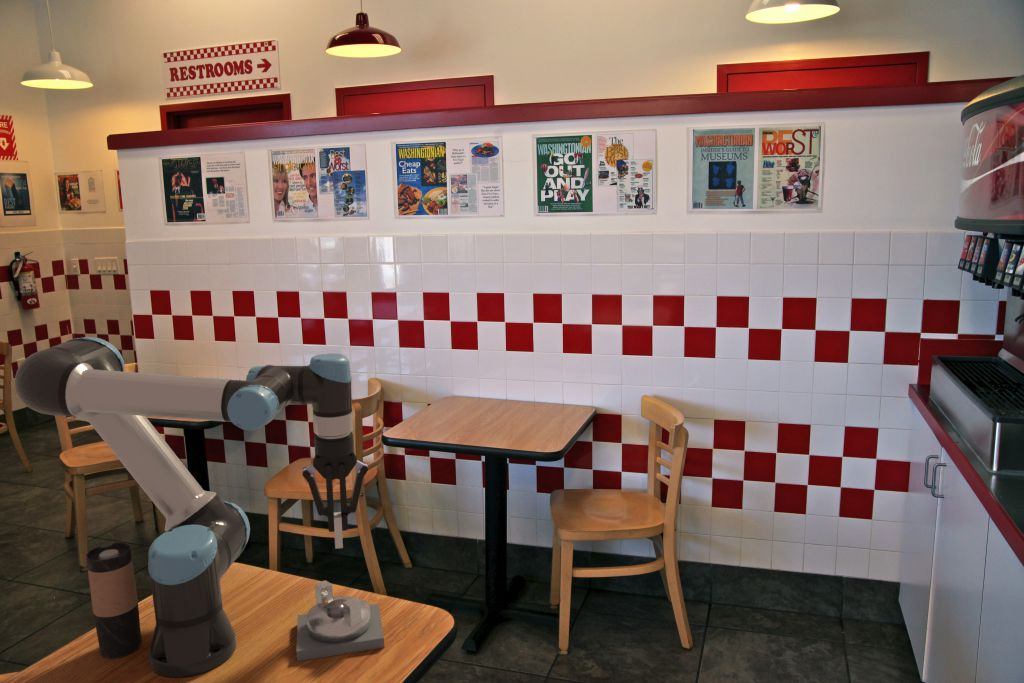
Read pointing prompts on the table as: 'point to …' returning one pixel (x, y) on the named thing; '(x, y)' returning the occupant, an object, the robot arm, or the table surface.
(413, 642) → the table surface
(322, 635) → the silver metal dome
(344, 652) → the gray square base plate
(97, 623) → the travel mug
